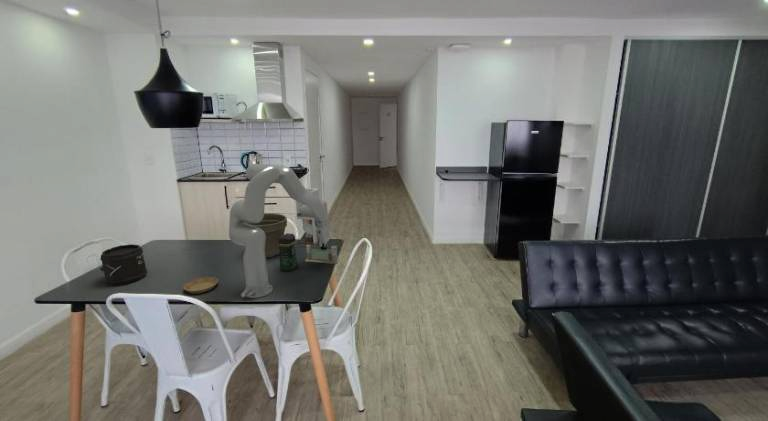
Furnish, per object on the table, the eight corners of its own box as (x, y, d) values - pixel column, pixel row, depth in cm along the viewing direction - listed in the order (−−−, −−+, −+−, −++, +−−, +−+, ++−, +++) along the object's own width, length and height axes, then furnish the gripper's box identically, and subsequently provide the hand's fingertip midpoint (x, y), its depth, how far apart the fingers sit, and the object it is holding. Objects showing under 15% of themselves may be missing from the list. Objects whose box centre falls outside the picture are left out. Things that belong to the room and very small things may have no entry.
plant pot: (296, 253, 206) (294, 219, 200) (255, 265, 190) (251, 227, 185) (279, 243, 224) (276, 211, 219) (240, 252, 209) (236, 218, 203)
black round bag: (104, 277, 177) (97, 248, 173) (146, 268, 188) (140, 241, 184) (103, 290, 163) (96, 259, 159) (149, 280, 174) (143, 250, 170)
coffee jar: (291, 271, 181) (289, 238, 177) (278, 270, 183) (274, 237, 178) (299, 264, 190) (297, 232, 186) (286, 263, 192) (283, 231, 187)
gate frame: (336, 264, 190) (335, 248, 188) (305, 261, 195) (303, 245, 192) (338, 261, 194) (338, 245, 192) (308, 258, 199) (307, 243, 196)
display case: (306, 239, 230) (303, 188, 221) (321, 240, 228) (318, 188, 219) (299, 245, 219) (295, 191, 210) (315, 246, 217) (311, 192, 208)
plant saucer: (176, 294, 160) (175, 289, 159) (199, 280, 173) (199, 275, 173) (203, 297, 156) (203, 292, 156) (225, 282, 170) (224, 278, 170)
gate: (311, 259, 195) (311, 250, 194) (312, 258, 196) (312, 249, 195) (331, 260, 193) (331, 250, 192) (332, 259, 195) (332, 249, 193)
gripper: (323, 227, 184) (326, 258, 189) (332, 218, 199) (334, 248, 204) (310, 226, 186) (313, 258, 191) (319, 218, 200) (322, 247, 205)
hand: (324, 252), depth 197 cm, fingers closed
